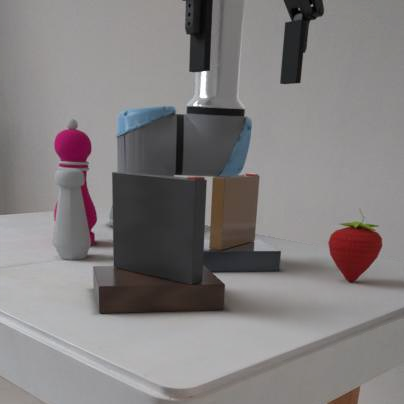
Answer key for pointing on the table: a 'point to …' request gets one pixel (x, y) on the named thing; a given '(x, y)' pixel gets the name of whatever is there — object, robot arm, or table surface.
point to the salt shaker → (71, 216)
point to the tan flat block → (233, 210)
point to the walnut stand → (154, 292)
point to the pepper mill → (76, 164)
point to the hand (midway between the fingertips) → (247, 78)
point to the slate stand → (242, 257)
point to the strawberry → (354, 248)
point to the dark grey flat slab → (159, 225)
